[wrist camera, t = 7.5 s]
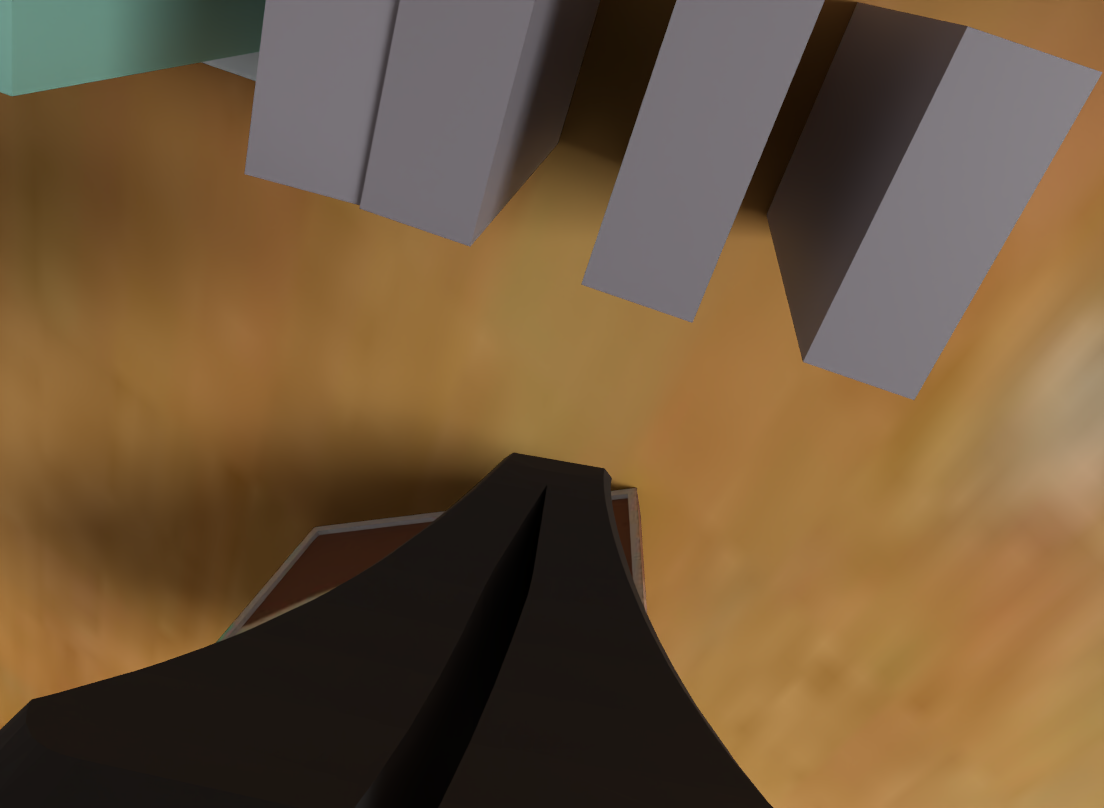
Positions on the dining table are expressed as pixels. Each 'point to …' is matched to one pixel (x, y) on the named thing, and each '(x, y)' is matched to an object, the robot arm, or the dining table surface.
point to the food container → (362, 544)
